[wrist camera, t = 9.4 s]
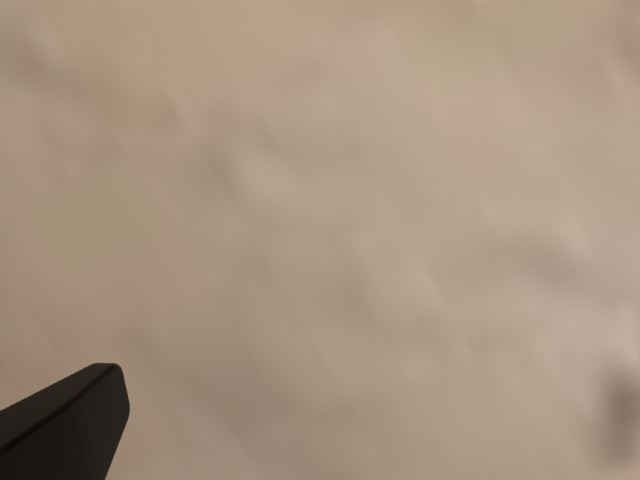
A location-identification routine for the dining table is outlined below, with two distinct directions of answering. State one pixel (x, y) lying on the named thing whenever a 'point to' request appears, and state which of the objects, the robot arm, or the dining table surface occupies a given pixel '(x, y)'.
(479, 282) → the dining table surface
